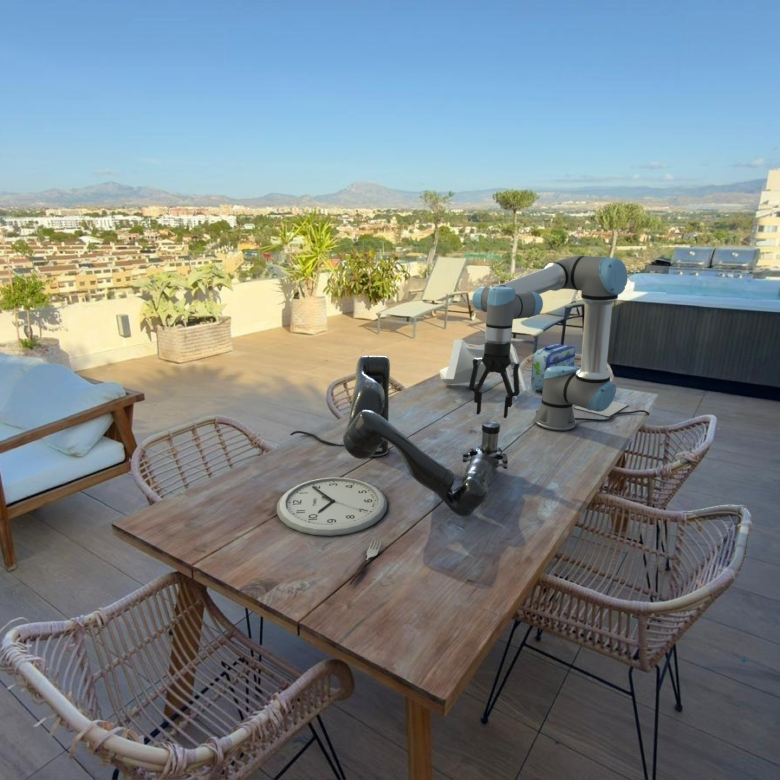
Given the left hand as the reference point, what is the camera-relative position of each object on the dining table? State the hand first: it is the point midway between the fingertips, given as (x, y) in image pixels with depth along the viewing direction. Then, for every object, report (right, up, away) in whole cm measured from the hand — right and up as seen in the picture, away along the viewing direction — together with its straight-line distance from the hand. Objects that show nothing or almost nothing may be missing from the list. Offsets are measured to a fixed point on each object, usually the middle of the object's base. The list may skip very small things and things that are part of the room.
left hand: (490, 449), depth 165 cm
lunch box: (+46, +19, +86) cm, 99 cm away
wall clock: (-48, -13, -22) cm, 54 cm away
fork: (-38, -21, -47) cm, 64 cm away
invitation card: (+60, +11, +61) cm, 86 cm away
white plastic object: (+10, +17, +78) cm, 81 cm away
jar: (-1, -7, 0) cm, 7 cm away
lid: (-1, +8, -5) cm, 9 cm away
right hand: (-1, +11, -6) cm, 13 cm away
